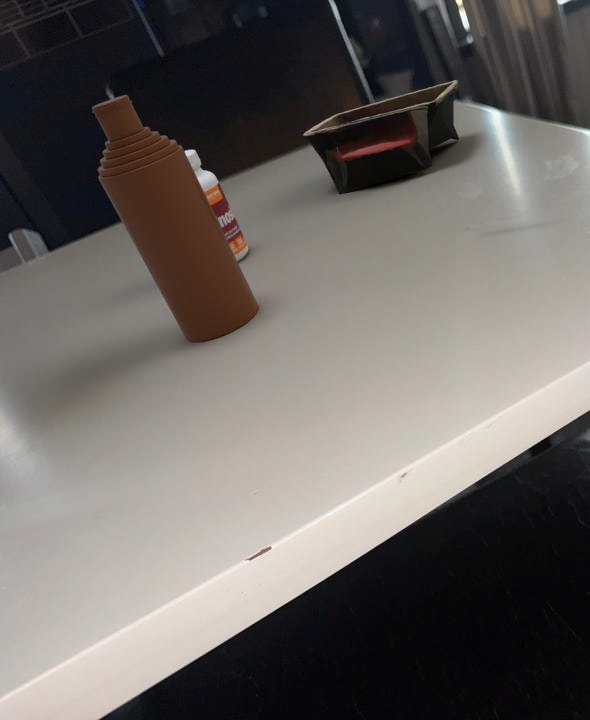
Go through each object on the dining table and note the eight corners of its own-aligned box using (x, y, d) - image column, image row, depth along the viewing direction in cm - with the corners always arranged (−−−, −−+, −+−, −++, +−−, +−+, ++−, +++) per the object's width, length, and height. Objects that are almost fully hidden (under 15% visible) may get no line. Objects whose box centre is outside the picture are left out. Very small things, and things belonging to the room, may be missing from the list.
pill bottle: (242, 265, 76) (191, 158, 70) (184, 282, 76) (129, 177, 71) (256, 242, 81) (209, 141, 76) (202, 258, 82) (152, 159, 76)
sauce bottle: (175, 349, 62) (49, 124, 53) (197, 314, 67) (86, 105, 58) (250, 328, 61) (135, 96, 52) (265, 294, 67) (164, 80, 58)
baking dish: (373, 171, 101) (332, 101, 96) (492, 122, 93) (455, 43, 88) (331, 223, 90) (284, 147, 85) (463, 174, 82) (418, 86, 77)
